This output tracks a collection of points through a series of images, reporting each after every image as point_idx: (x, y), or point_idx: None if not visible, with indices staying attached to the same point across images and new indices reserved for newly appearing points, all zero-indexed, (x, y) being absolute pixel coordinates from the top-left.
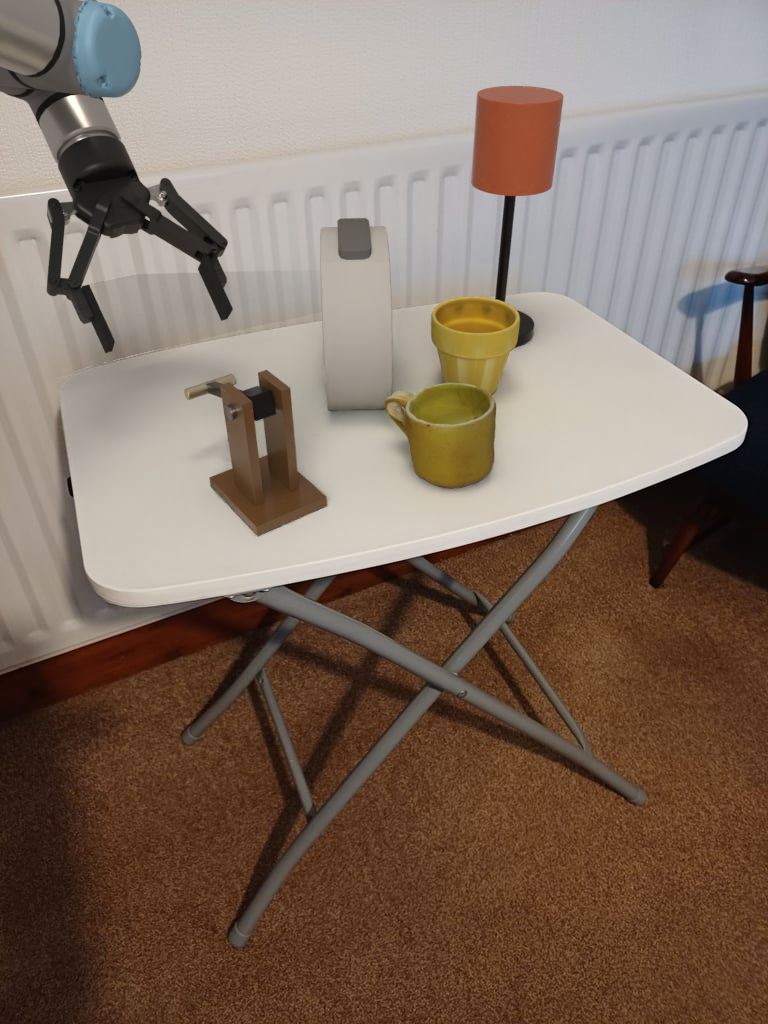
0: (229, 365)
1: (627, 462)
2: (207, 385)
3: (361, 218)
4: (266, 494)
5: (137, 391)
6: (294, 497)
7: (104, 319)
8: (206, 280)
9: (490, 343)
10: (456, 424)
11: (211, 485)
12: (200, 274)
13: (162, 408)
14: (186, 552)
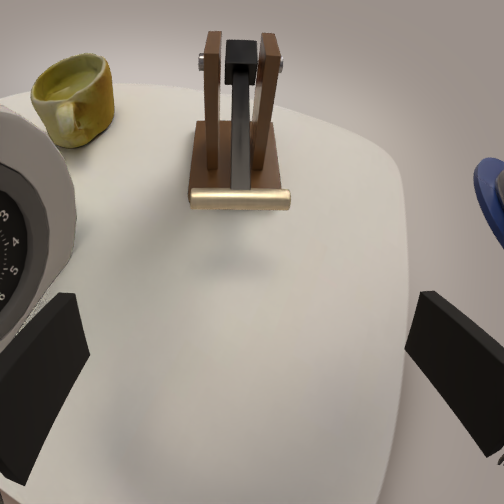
0: (103, 473)
1: (24, 99)
2: (250, 182)
3: None
4: None
5: (276, 491)
6: (221, 130)
7: (458, 322)
8: (32, 418)
9: None
10: (95, 55)
11: None
12: (31, 466)
13: (262, 420)
14: (331, 147)
